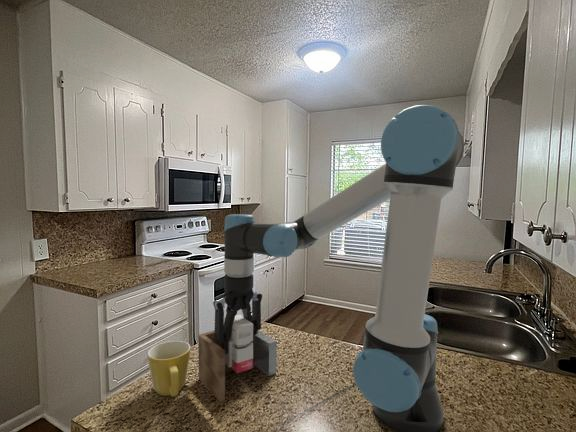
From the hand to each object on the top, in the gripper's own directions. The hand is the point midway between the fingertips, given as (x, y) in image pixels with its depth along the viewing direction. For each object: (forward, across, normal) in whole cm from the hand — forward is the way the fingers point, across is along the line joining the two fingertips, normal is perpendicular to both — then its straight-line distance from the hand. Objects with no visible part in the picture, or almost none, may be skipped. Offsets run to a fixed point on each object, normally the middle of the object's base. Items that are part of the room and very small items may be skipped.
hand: (238, 360), depth 84 cm
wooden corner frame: (+6, -1, 0) cm, 6 cm away
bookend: (+5, -8, 0) cm, 10 cm away
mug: (+6, +16, -7) cm, 18 cm away
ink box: (+1, 0, 0) cm, 1 cm away
